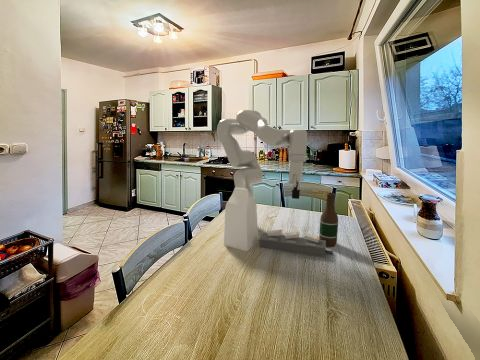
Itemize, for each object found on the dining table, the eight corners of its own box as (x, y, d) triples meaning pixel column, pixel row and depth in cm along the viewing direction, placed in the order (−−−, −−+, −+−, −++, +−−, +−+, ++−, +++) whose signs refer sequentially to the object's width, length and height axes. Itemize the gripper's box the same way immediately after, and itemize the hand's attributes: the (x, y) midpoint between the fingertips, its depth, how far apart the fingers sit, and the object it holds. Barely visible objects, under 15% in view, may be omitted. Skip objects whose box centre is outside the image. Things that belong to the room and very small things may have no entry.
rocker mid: (285, 239, 111) (284, 235, 111) (286, 236, 114) (286, 233, 114) (299, 237, 109) (298, 233, 109) (299, 234, 112) (299, 231, 112)
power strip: (258, 247, 112) (259, 238, 111) (263, 240, 120) (263, 232, 119) (332, 258, 102) (333, 249, 101) (332, 250, 109) (333, 241, 109)
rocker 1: (267, 236, 114) (267, 233, 114) (269, 233, 117) (268, 230, 117) (280, 235, 112) (280, 231, 112) (282, 232, 115) (281, 229, 115)
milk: (223, 245, 115) (222, 189, 110) (235, 236, 125) (235, 185, 120) (247, 250, 109) (247, 192, 104) (258, 241, 119) (258, 187, 114)
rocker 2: (303, 238, 109) (304, 235, 108) (304, 235, 112) (305, 232, 111) (317, 242, 107) (318, 239, 106) (318, 239, 110) (319, 236, 109)
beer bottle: (338, 248, 111) (341, 195, 107) (319, 246, 113) (322, 194, 108) (335, 241, 119) (338, 191, 114) (318, 239, 120) (320, 191, 116)
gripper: (291, 156, 120) (289, 193, 123) (285, 159, 106) (284, 201, 109) (307, 156, 117) (305, 195, 121) (304, 160, 103) (302, 203, 107)
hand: (295, 198), depth 115 cm, fingers closed
